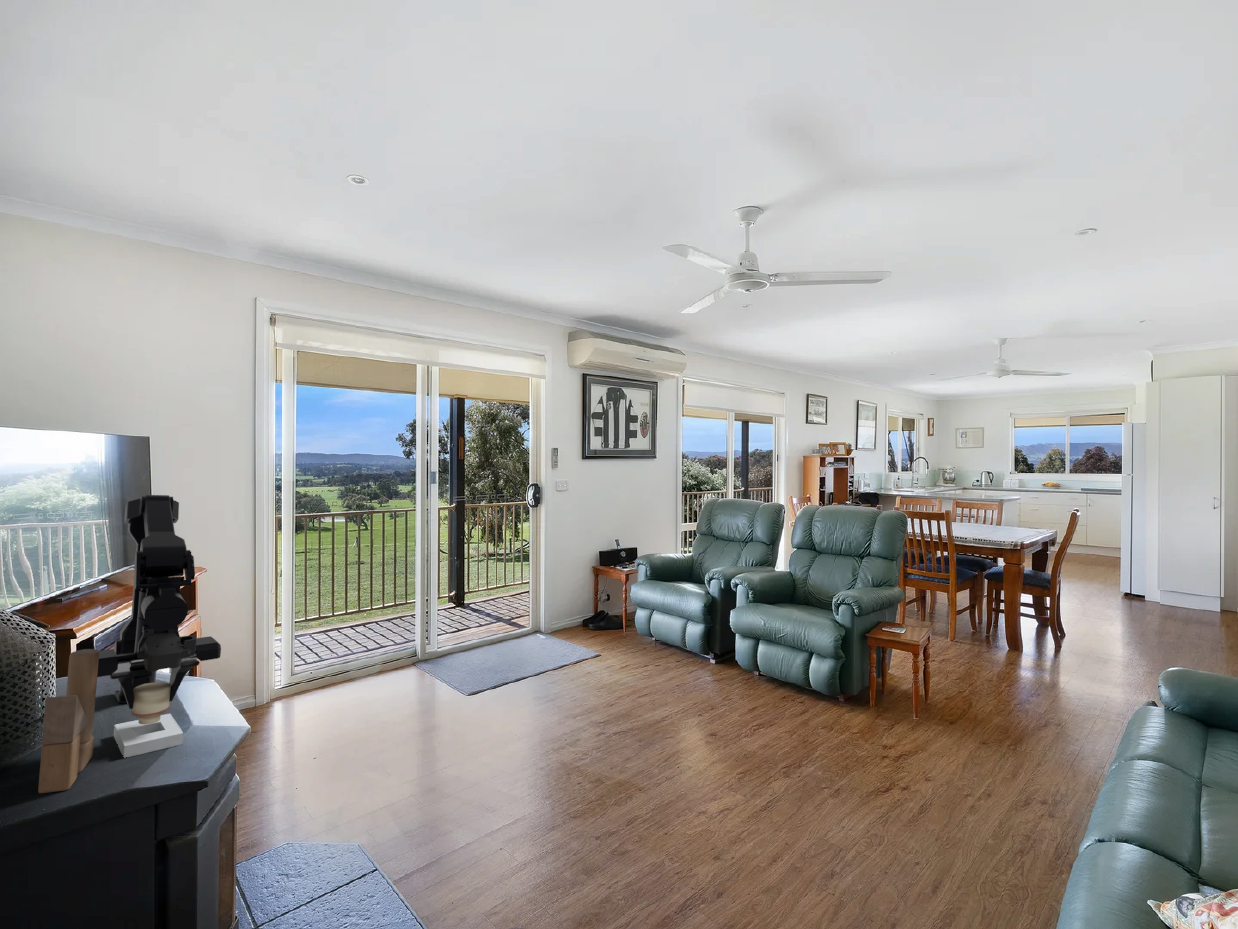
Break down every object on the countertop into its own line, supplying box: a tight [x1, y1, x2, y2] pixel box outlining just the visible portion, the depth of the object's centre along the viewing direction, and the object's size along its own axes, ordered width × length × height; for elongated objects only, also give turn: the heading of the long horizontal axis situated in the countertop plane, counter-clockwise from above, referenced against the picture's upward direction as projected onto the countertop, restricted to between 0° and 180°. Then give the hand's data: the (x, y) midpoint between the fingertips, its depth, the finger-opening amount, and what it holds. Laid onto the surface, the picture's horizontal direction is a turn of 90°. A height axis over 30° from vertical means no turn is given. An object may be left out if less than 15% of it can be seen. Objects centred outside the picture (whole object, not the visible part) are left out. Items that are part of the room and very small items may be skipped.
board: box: [113, 713, 184, 759], centre depth 105 cm, size 10×8×2 cm
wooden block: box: [37, 648, 100, 794], centre depth 93 cm, size 4×11×18 cm, turn 27°
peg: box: [130, 681, 171, 724], centre depth 105 cm, size 5×5×6 cm
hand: (150, 704), depth 105 cm, fingers closed on peg, 5 cm apart
